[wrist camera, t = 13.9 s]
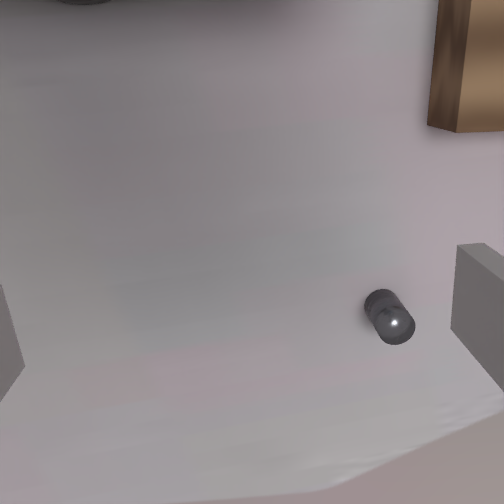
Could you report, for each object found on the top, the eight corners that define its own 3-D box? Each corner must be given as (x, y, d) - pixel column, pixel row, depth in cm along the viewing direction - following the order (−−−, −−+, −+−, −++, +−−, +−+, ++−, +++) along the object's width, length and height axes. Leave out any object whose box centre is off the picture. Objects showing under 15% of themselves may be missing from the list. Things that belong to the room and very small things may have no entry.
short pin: (365, 289, 49) (379, 312, 44) (399, 288, 49) (416, 311, 44) (363, 320, 50) (377, 345, 46) (396, 318, 50) (413, 343, 46)
